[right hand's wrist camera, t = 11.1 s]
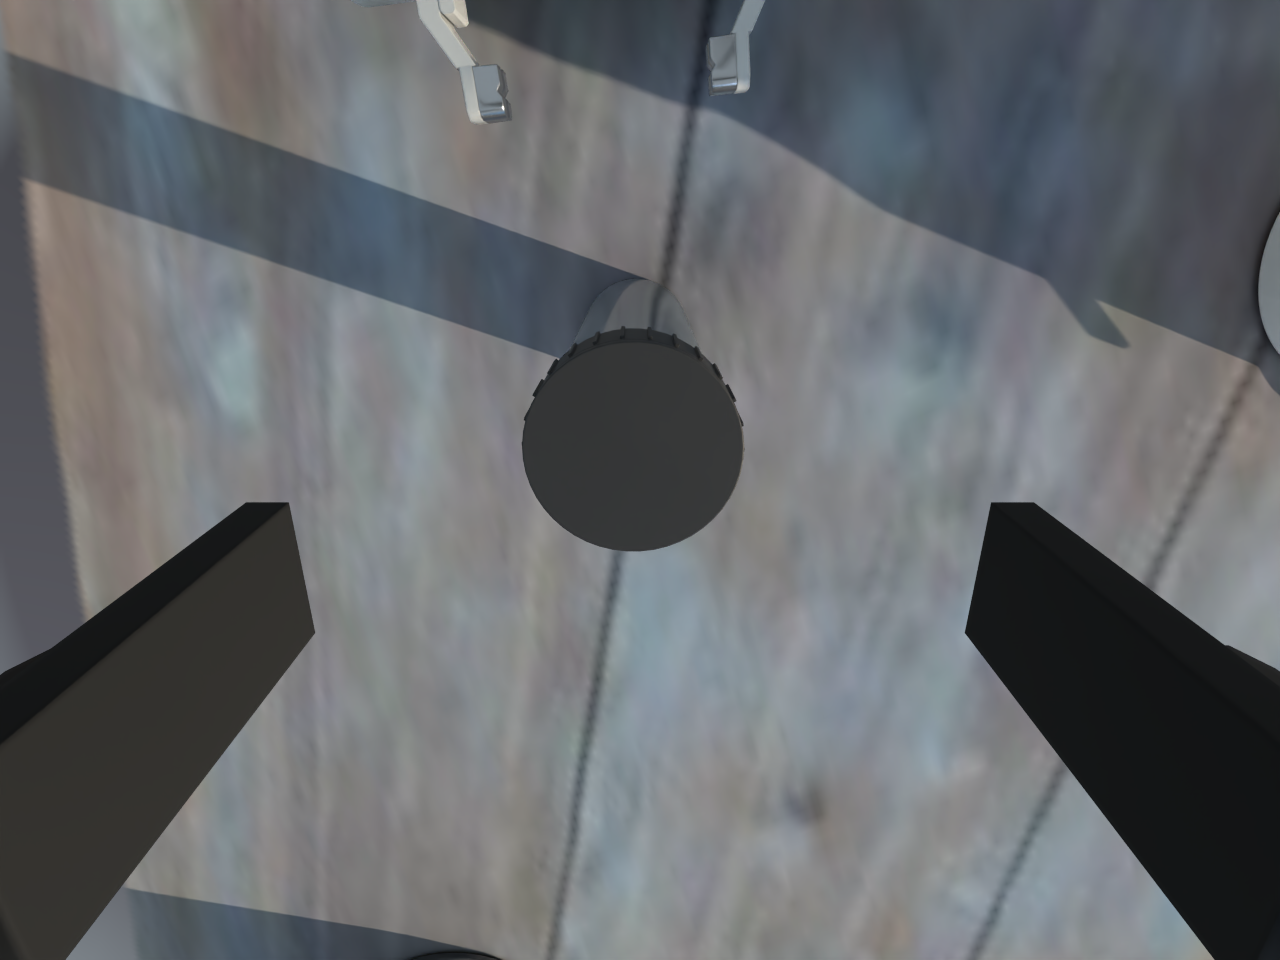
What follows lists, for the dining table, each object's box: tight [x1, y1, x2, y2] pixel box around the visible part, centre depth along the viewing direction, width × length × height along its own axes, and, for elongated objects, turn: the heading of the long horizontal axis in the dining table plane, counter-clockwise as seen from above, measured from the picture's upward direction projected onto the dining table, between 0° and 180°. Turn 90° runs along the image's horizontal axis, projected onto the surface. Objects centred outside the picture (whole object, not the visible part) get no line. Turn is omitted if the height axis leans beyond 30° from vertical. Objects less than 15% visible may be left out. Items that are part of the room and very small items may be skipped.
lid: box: [522, 326, 744, 551], centre depth 20 cm, size 6×6×2 cm
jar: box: [569, 279, 702, 354], centre depth 28 cm, size 5×5×19 cm
